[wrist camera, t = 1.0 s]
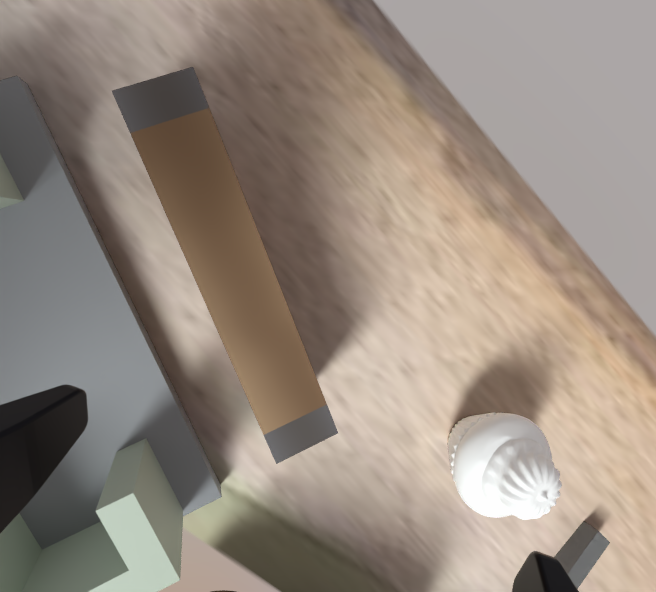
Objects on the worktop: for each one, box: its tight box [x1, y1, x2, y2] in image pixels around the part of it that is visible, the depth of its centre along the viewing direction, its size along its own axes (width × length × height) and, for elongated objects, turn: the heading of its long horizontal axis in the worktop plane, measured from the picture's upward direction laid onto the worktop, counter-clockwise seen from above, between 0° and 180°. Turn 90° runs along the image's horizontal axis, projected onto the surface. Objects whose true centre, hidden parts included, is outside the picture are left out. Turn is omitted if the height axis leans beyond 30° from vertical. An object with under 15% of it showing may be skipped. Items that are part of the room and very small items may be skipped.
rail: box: [112, 67, 338, 464], centre depth 21 cm, size 3×16×6 cm, turn 20°
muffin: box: [447, 412, 562, 520], centre depth 27 cm, size 6×6×7 cm
